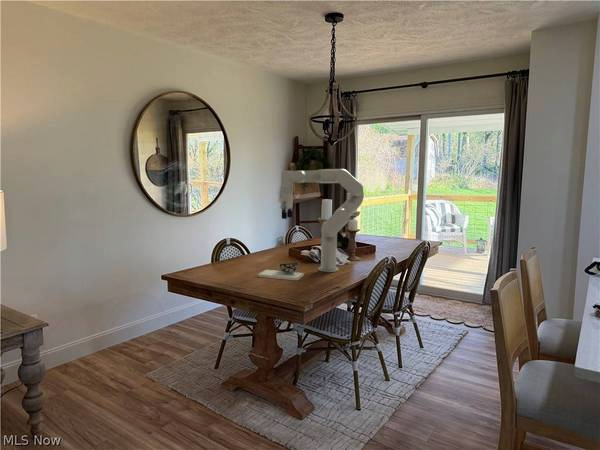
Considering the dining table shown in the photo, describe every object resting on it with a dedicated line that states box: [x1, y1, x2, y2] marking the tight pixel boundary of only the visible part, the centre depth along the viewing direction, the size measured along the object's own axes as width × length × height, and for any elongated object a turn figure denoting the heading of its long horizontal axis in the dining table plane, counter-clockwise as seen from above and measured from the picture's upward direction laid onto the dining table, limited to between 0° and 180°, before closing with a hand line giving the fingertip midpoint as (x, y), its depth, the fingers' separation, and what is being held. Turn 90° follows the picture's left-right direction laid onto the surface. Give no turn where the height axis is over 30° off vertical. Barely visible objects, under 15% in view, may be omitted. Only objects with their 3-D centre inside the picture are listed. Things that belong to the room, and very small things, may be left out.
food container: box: [277, 262, 300, 274], centre depth 242 cm, size 12×6×10 cm
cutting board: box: [258, 269, 305, 281], centre depth 240 cm, size 12×24×2 cm, turn 71°
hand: (286, 218), depth 255 cm, fingers open, 9 cm apart
